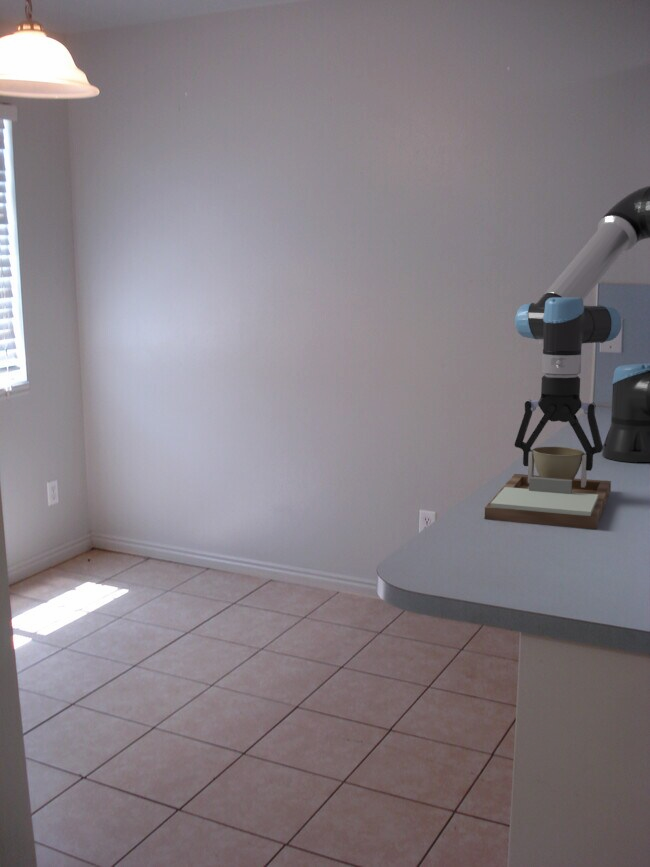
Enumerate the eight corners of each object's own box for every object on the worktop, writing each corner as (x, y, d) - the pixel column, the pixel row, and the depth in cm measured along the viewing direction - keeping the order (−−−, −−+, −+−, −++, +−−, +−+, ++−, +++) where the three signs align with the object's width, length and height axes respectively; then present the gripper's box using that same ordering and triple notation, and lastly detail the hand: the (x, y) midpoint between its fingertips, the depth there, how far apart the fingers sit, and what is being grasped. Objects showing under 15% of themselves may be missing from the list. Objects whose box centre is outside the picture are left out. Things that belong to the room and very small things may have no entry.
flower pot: (583, 491, 187) (585, 456, 186) (531, 489, 189) (533, 454, 188) (580, 480, 197) (582, 446, 196) (531, 478, 199) (532, 445, 198)
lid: (504, 490, 189) (505, 474, 188) (598, 498, 182) (598, 481, 182) (490, 507, 176) (491, 490, 175) (590, 516, 170) (591, 498, 169)
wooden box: (514, 483, 205) (514, 473, 205) (610, 491, 198) (610, 481, 197) (484, 518, 177) (484, 507, 176) (595, 529, 169) (596, 517, 169)
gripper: (501, 375, 190) (498, 483, 194) (618, 379, 182) (612, 492, 186) (508, 371, 197) (505, 475, 201) (621, 375, 189) (615, 484, 193)
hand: (556, 483), depth 193 cm, fingers closed on flower pot, 10 cm apart
